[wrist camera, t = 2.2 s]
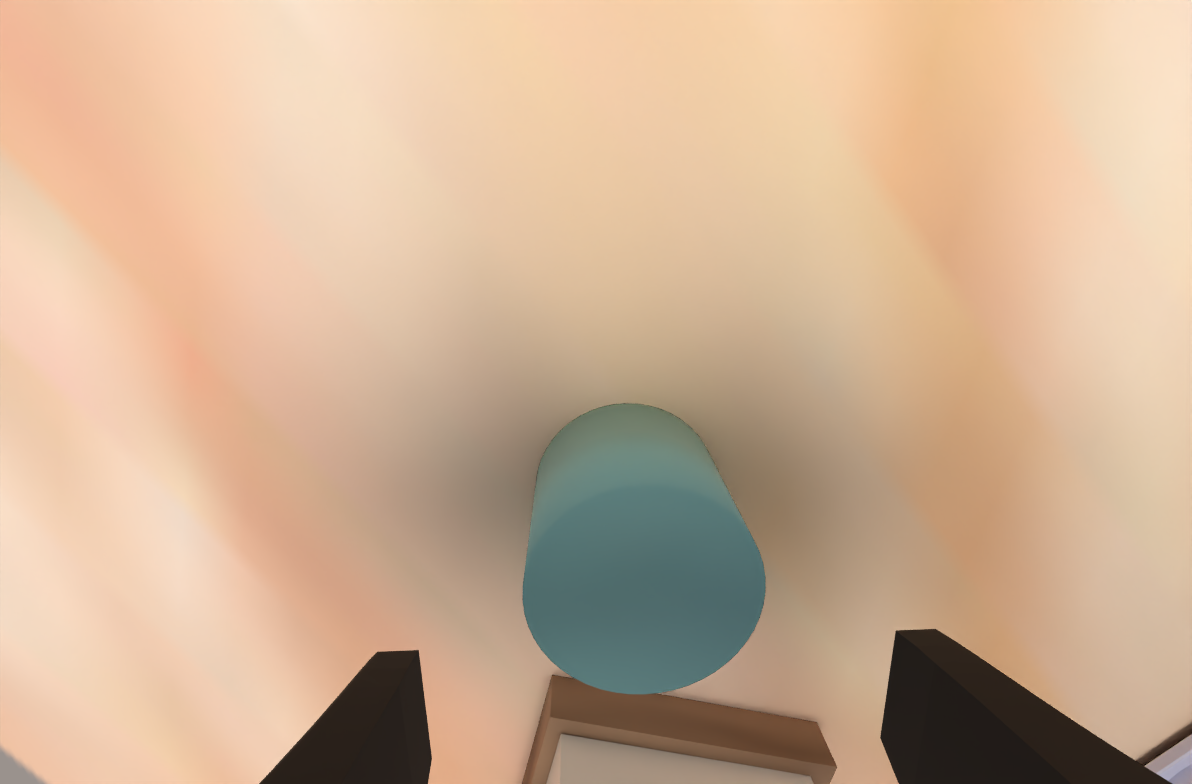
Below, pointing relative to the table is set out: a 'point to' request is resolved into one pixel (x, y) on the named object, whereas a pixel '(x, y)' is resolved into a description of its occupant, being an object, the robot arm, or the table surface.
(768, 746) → the walnut slab
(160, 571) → the table surface
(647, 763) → the off-white slab
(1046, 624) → the table surface
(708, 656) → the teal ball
